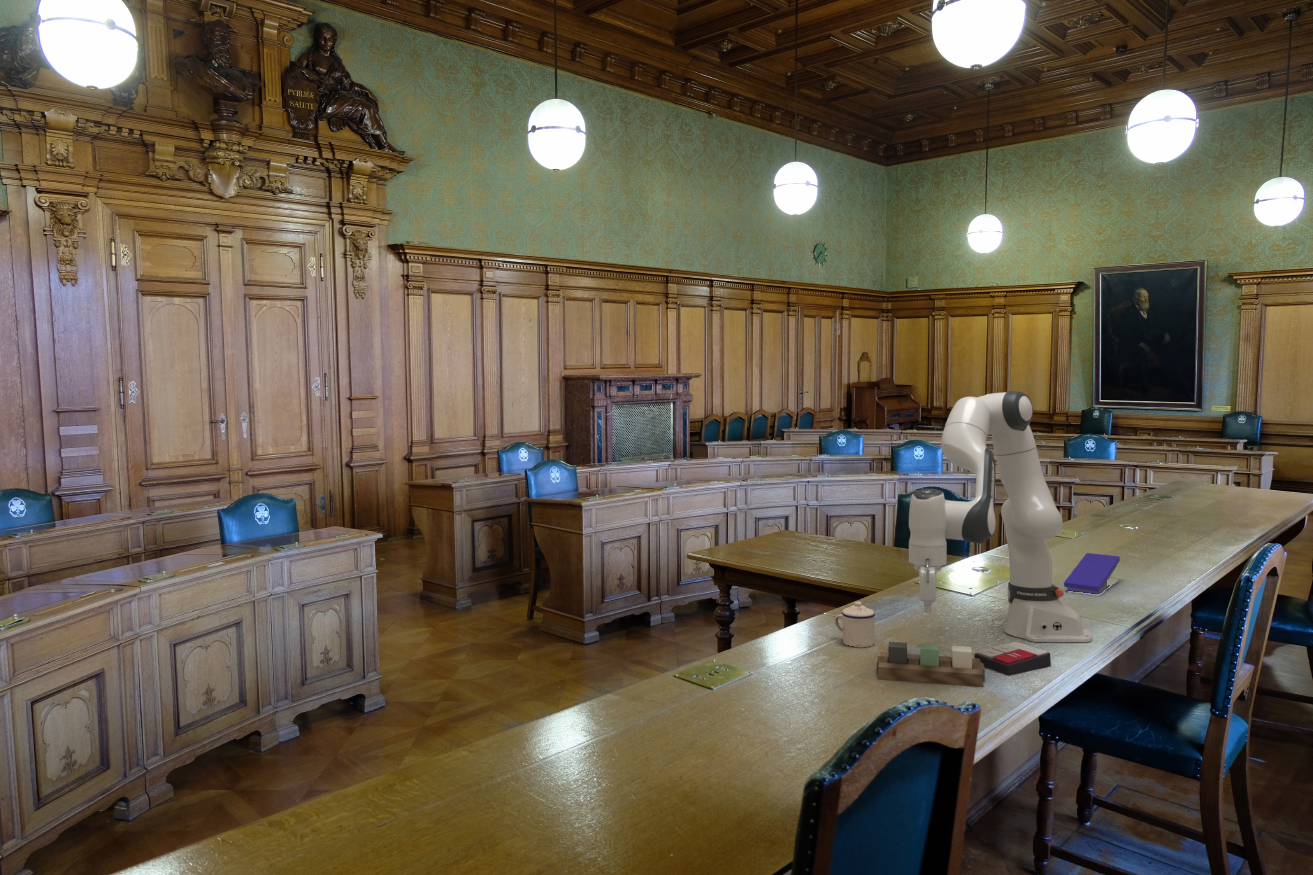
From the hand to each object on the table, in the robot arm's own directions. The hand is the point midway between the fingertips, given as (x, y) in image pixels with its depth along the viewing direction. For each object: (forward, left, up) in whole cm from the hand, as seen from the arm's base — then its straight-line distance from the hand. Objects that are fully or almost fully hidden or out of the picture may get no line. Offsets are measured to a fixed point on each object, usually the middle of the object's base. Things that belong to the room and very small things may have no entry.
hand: (927, 611), depth 202 cm
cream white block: (-8, 0, -14) cm, 16 cm away
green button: (0, 0, -14) cm, 14 cm away
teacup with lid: (+20, -23, -16) cm, 34 cm away
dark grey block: (+7, 0, -14) cm, 16 cm away
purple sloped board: (-56, -107, -16) cm, 121 cm away
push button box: (-20, -13, -17) cm, 29 cm away
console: (0, 0, -16) cm, 16 cm away
